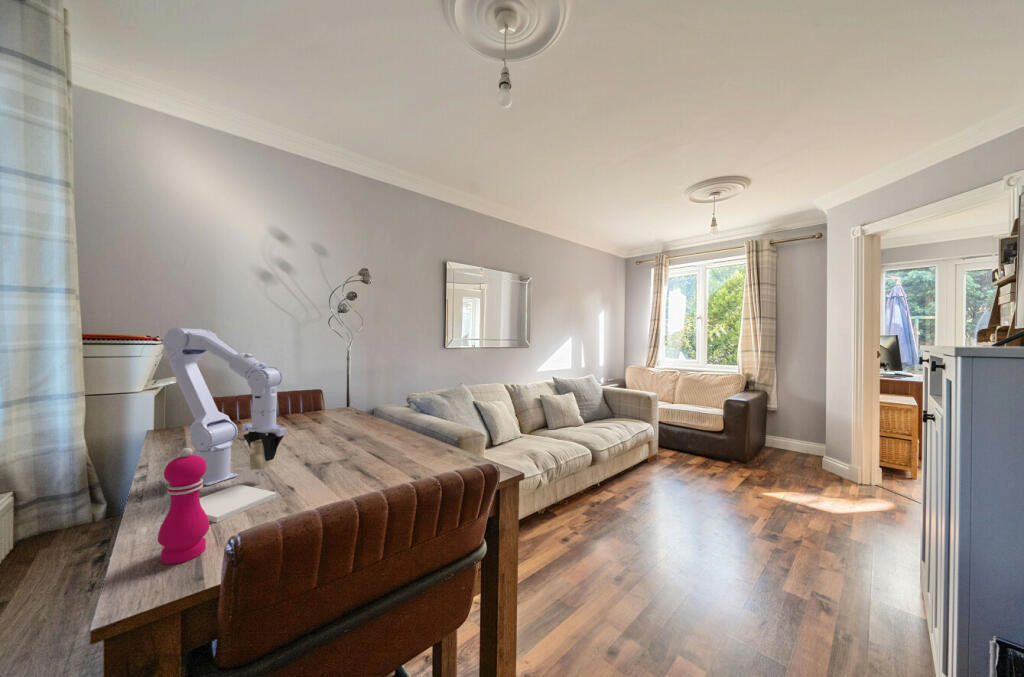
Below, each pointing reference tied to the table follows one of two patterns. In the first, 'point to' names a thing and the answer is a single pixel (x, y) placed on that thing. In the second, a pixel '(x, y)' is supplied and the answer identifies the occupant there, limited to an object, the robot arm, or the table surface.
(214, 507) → the white board
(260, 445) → the birch block
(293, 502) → the table surface
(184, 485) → the pepper mill
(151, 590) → the table surface
